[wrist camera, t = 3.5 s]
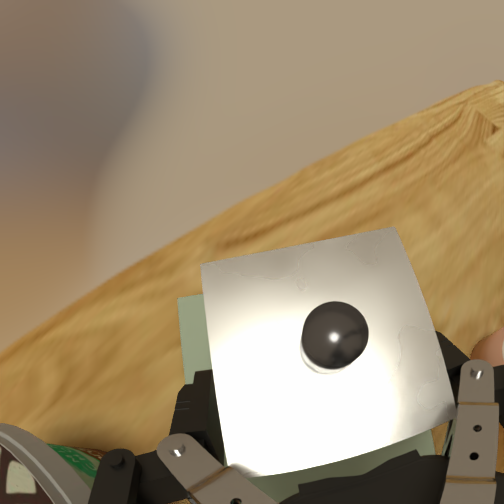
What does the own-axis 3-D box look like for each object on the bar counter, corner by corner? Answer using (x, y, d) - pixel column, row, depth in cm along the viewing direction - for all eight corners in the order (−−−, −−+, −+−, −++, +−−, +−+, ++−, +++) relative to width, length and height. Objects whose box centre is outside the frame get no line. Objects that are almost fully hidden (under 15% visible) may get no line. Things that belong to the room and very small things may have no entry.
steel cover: (344, 322, 19) (404, 204, 9) (368, 421, 16) (479, 413, 6) (242, 344, 19) (189, 244, 9) (260, 446, 16) (221, 489, 6)
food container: (184, 443, 16) (96, 456, 8) (189, 529, 13) (114, 595, 5) (34, 419, 17) (-69, 393, 8) (37, 490, 14) (-64, 491, 5)
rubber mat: (378, 260, 21) (380, 258, 21) (433, 455, 14) (435, 455, 14) (179, 300, 21) (177, 298, 21) (207, 507, 14) (206, 509, 14)
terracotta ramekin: (493, 328, 17) (520, 310, 14) (514, 368, 16) (544, 356, 13) (461, 357, 17) (488, 343, 14) (483, 400, 15) (514, 393, 12)
